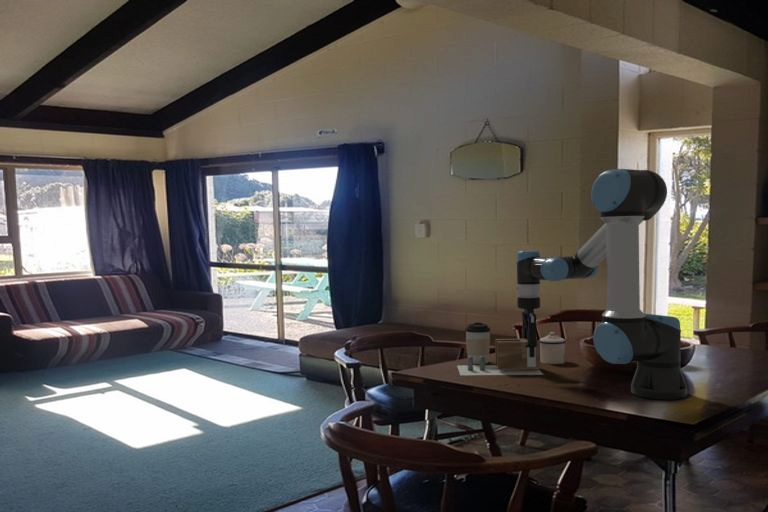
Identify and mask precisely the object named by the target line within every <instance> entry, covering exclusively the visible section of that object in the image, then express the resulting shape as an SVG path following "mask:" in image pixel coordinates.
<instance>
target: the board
mask: <svg viewBox="0 0 768 512" xmlns="http://www.w3.org/2000/svg"><path fill="white" fill-rule="evenodd" d="M479 359H480V364H473V357H471V356H469V357H468V356H467V365H466V364H465V365H464V364H463V365H456V367H457V369H458V373H459V375H460V376H525V375H527V376H536V375H537V376H538V375H539V376H541V375H542V376H543V375H545V374H544V373H543V372H542V371H541V370H540V369H498V368H497V366H496V365H495V364H491V365H490V364H489V365H487V364H485V357H484V356H480V357H479Z"/></svg>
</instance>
